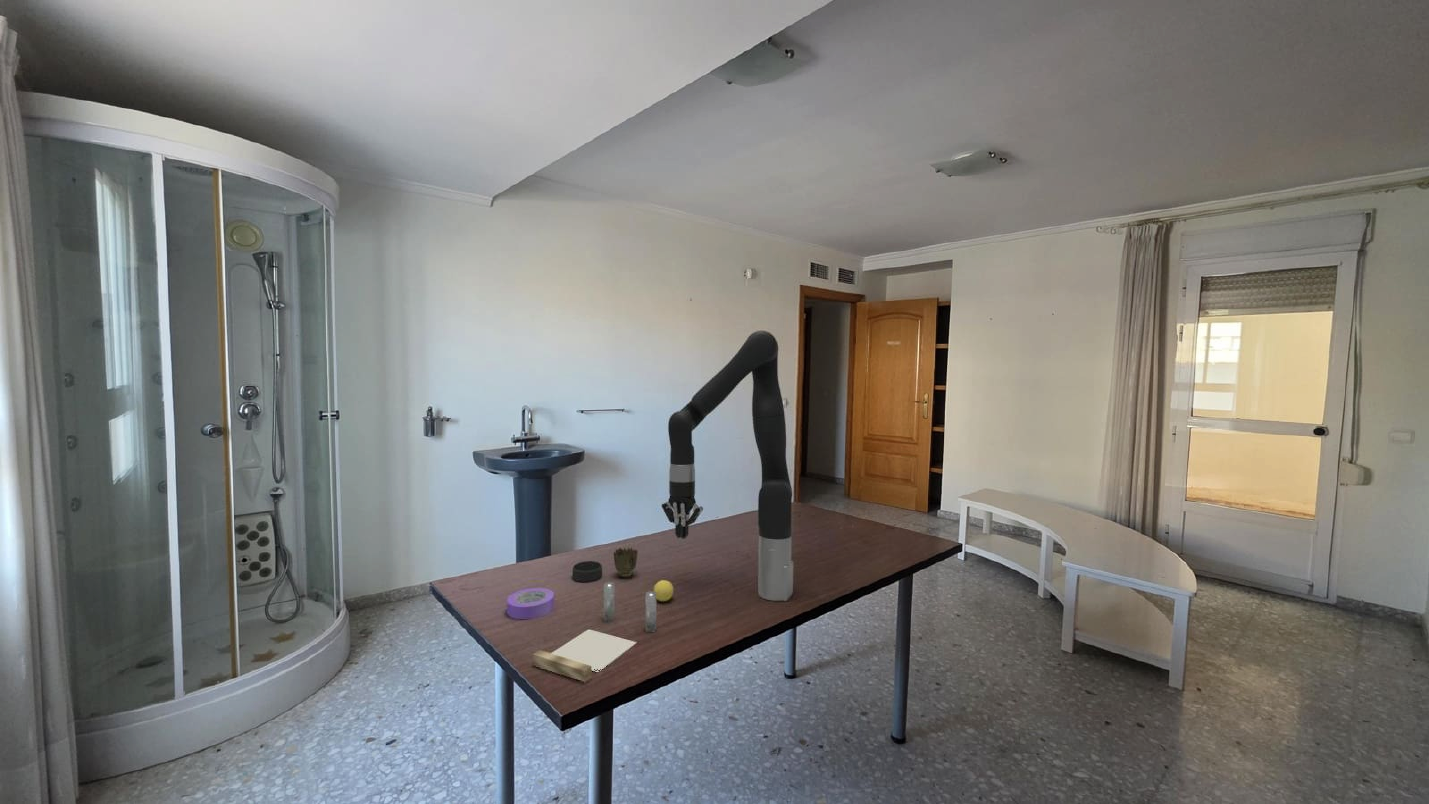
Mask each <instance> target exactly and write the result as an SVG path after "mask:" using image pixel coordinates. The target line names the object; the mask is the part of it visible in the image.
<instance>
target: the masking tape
mask: <svg viewBox="0 0 1429 804" xmlns="http://www.w3.org/2000/svg"><path fill="white" fill-rule="evenodd" d="M554 610H555V593H554V592H553V591H552V590H551V589H547V588H543V587H531V588H526V589H521V590H518V591H516V592H514V593H512V594H511V595H509V596H508V597H507V599H506V614H508V615H509V616H510V617H509V616H508V615H507V616H508V617H509V618H511V617H512V618H511V619H513V618H515V619H514V620H518V619H529V620H535V619H539V617H540V618H542V616H543V617H546V616H548V615H549V614H551V613H552V612H551V611H554ZM534 618H535V619H534Z"/></svg>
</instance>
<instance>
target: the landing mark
mask: <svg viewBox="0 0 1429 804" xmlns="http://www.w3.org/2000/svg"><path fill="white" fill-rule="evenodd" d="M635 645H637V641H633V640H628V639H626V638H622V637H618V636H614V635H611V634H607V633H604V632H600V631H597V630H592V629H587V630H585V631H583V632H582V633H581V634H579V635H578V636H576V637H574V638H573V639H571V640H570V641H569V642H566V643H565V644H563V645H561V646H560V647H558V648H557V649H556V650H554V651H552V652H550V653H551V654H554V655H557V656H561V657H564V658H567V659H570V660H573V661H577V662H580V663H583V664H586V665H589V666H591V670H592V671H595V670H597V669H598V670H600V669H601V670H600V672H601V671H603V670H605V668H606V666H607V665H608V666H609V665H610V664H612V663H613V662H614V661H616V660H617V659H618V658H620V657H621V656H622V655H624V654H625V653H626V652H627V651H629V650H630V649H631V648H632V647H634V646H635ZM608 666H607V667H608ZM594 669H595V670H594ZM602 669H603V670H602ZM598 670H597V671H595V672H599V671H598ZM592 671H591V672H592ZM595 672H594V673H595ZM600 672H599V673H600Z"/></svg>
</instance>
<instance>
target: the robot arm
mask: <svg viewBox="0 0 1429 804" xmlns="http://www.w3.org/2000/svg"><path fill="white" fill-rule="evenodd" d="M778 357H779V344H778V340H777V339H776V337H775V336H774V335H773V334H772V333H771V332H770V331H766V330H756V331H754V332H752V333H751V334H749V336H748V337H747V339H746V341H745V342H744V343H743V344H742V346H741V348H739V350H738V351H737V353H735V355H734V356H733V357H732V358H731V359H730V360H729V361H728V362H727V364H726V365H725V366H724V367H723V368H722V369H720V370H719V371H718V372H717V373H715V375H714V376H713V377H711V379H709V380H708V381H707V382H706V383H705V384H704V385H703V386H702V387H701V388H700V389H699V390H698V391H697V392H696V393H695V394H694V395H693V396H692V398H691V400H690V401H689V402H688V403H687V404H686V405H685V406H684V407H682V408H681V409H679V410H678V411H675V412H673V413H672V414H671V415H670V417H669V418H668V425H667V428H668V429H667V430H668V438H669V440H668V441H669V445H670V455H669V456H670V457H669V458H670V459H669V462H670V463H669V464H670V465H669V476H668V478H669V479H668V480H669V481H668V482H669V483H668V486H669V487H668V491H669V492H668V494H669V496H668V497H669V498H668V501H666V502H664V503H662V504H661V508H662V510H663V512H664V514H665V516H666V518H667V520H668V521H669V522H670V523H673V524H674V525H675V526H674V527H675V528H674V529H675V530H674V532H675V533H674V535H675V536H676V538H677V539H680V538H681V539H686V538H687V537H688V536H689V526H690V525H692V524H694V523H695V522H696V521H697V519H698V518H699V516H700V514H701V513H702V512H703V510H704V507H703V506H699V505H698V504H697V502H696V499H695V494H696V468H695V467H696V466H695V446H694V445H693V431H694V430H695V429H697V427H698V426H700V424H701V423H702V422H703V420H704V419H705V418H706V417H707V416H708V415H709V414H710V413H712V412H714V410H715V409H716V408H717V407H718V406H719V405H721V404H722V403H723V402H724V401H725V400H726V399H727V398H728V397H729V395H730V394H731V393H732V392H733V391H734V390H735V388H737V386H738V385H739V384H740V383H741V382H742V381H743V379H745V378H746V377H747V376H748V375H749V374H750V373H751V375H752V384H753V386H752V395H751V396H752V397H751V399H752V400H751V401H752V402H751V414H752V416H751V417H752V426H753V427H752V428H753V435H754V438H755V440H754V441H755V443H756V446H757V451H758V454H759V458H760V464H761V486H760V489H759V492H758V499H757V502H758V503H757V505H758V506H757V508H758V509H757V515H758V518H757V519H758V520H757V523H758V524H757V525H758V568H757V569H758V575H757V576H758V577H757V578H758V580H757V581H758V583H757V584H758V585H757V592H758V593H757V594H758V596H759V597H760V598H762V599H764V600H768V601H777V602H778V601H784V602H787V601H788V600H789V599H790V598H791V597H792V595H793V594H794V561H793V560H792V531H793V530H792V507H793V506H792V501H793V500H792V499H793V489H792V485H791V480H790V476H789V471H788V470H789V469H788V465H787V426H786V425H787V424H786V415H785V407H784V401H783V397H782V391H781V388H780V382H779V374H778V373H779V372H778V371H779V370H778V369H779V368H778V365H779V364H778V363H779V362H778V361H779V359H778ZM691 511H692V513H691Z"/></svg>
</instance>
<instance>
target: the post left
mask: <svg viewBox="0 0 1429 804" xmlns="http://www.w3.org/2000/svg"><path fill="white" fill-rule="evenodd" d="M614 620H615V583H614V582H611V581H607V582H604V583H603V621H604V622H613V621H614Z"/></svg>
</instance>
